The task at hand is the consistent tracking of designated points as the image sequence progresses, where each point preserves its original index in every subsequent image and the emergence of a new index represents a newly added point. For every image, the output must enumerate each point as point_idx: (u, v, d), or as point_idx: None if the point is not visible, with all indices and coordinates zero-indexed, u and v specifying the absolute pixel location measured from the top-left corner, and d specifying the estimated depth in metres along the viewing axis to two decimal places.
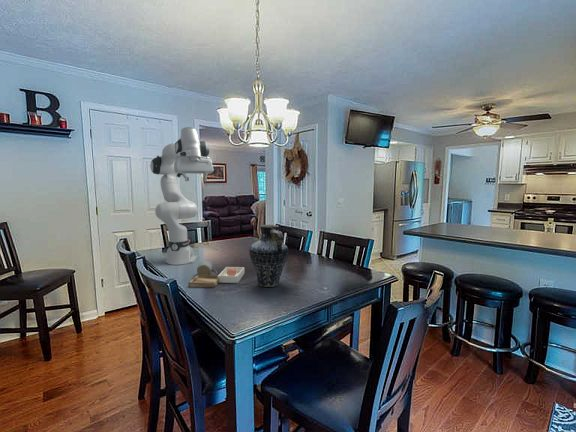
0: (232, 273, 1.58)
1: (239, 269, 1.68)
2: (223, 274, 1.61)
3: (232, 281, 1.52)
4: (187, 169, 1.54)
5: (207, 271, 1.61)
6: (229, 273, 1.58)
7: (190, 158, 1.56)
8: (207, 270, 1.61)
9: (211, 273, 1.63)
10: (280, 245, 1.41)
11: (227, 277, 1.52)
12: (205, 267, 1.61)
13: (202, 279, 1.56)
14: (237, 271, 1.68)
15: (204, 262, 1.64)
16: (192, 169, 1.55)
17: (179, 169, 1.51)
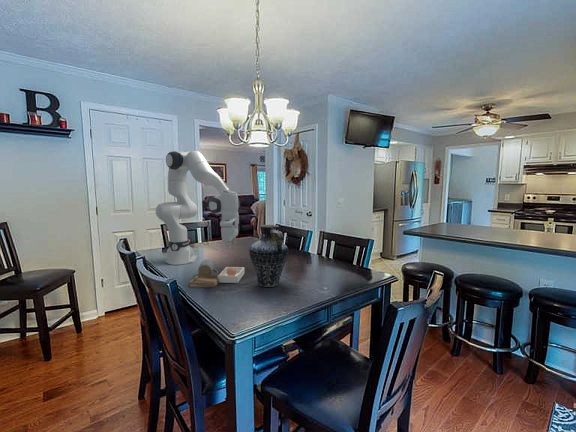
0: (232, 273, 1.58)
1: (239, 269, 1.68)
2: (223, 274, 1.61)
3: (232, 281, 1.52)
4: (231, 238, 1.54)
5: (208, 271, 1.61)
6: (229, 273, 1.58)
7: (233, 226, 1.55)
8: (208, 270, 1.61)
9: (212, 273, 1.63)
10: (280, 245, 1.41)
11: (227, 277, 1.52)
12: (206, 267, 1.61)
13: (202, 279, 1.56)
14: (237, 271, 1.68)
15: (205, 262, 1.64)
16: (233, 237, 1.56)
17: (229, 239, 1.50)
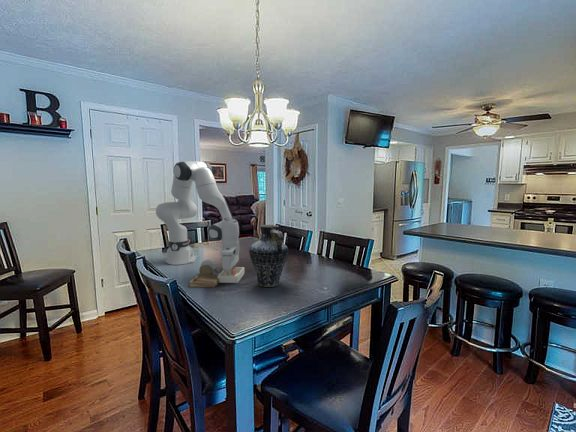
0: (232, 273, 1.58)
1: (239, 269, 1.68)
2: (223, 274, 1.61)
3: (232, 281, 1.52)
4: (232, 265, 1.56)
5: (209, 271, 1.62)
6: None
7: (234, 253, 1.57)
8: (209, 270, 1.61)
9: (213, 273, 1.63)
10: (280, 245, 1.41)
11: (227, 277, 1.52)
12: (207, 267, 1.61)
13: (202, 279, 1.56)
14: (237, 271, 1.68)
15: (206, 262, 1.65)
16: (233, 264, 1.58)
17: (230, 268, 1.52)
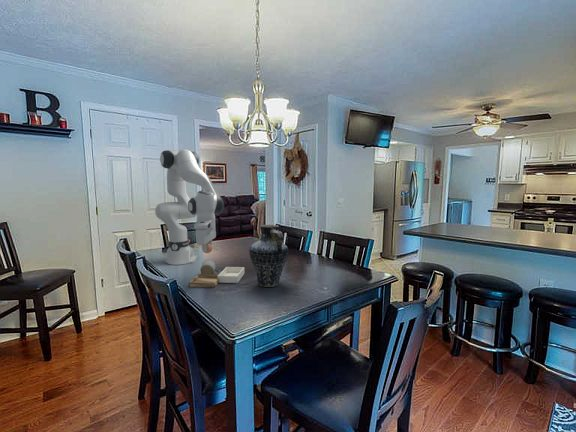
0: (207, 249, 1.49)
1: (239, 269, 1.68)
2: (223, 274, 1.61)
3: (232, 281, 1.52)
4: (207, 240, 1.47)
5: (210, 271, 1.62)
6: None
7: (209, 228, 1.48)
8: (210, 270, 1.62)
9: (214, 273, 1.63)
10: (280, 245, 1.41)
11: (227, 277, 1.52)
12: (208, 267, 1.61)
13: (202, 279, 1.56)
14: (237, 271, 1.68)
15: (207, 262, 1.65)
16: (209, 239, 1.49)
17: (204, 242, 1.43)
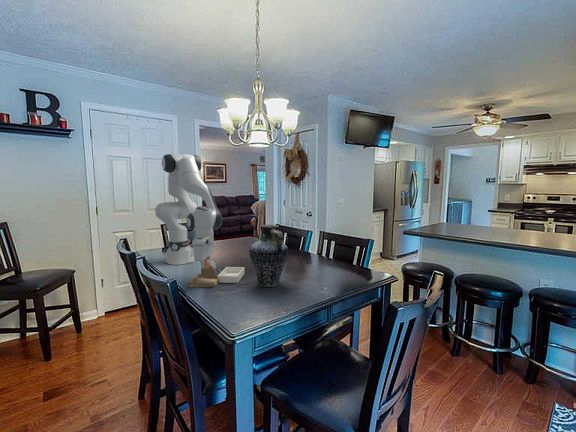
0: (206, 265, 1.49)
1: (239, 269, 1.68)
2: (223, 274, 1.61)
3: (232, 281, 1.52)
4: (205, 256, 1.47)
5: (211, 271, 1.62)
6: None
7: (207, 244, 1.48)
8: (211, 270, 1.62)
9: (215, 273, 1.63)
10: (280, 245, 1.41)
11: (227, 277, 1.52)
12: (209, 267, 1.61)
13: (202, 279, 1.56)
14: (237, 271, 1.68)
15: None
16: (207, 255, 1.49)
17: (202, 259, 1.42)
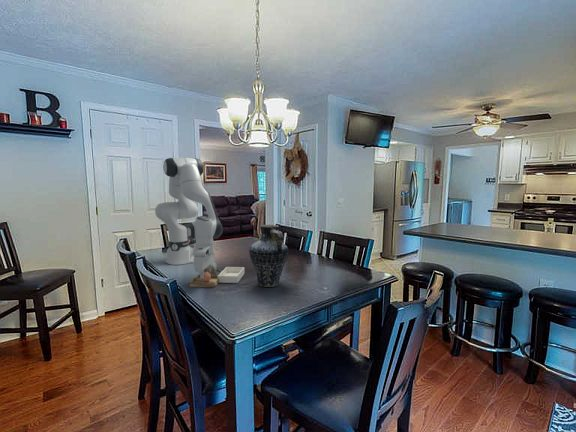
0: (206, 278, 1.50)
1: (239, 269, 1.68)
2: (223, 274, 1.61)
3: (232, 281, 1.52)
4: (205, 266, 1.47)
5: (212, 271, 1.62)
6: (203, 278, 1.50)
7: (208, 254, 1.49)
8: (212, 270, 1.62)
9: (216, 273, 1.63)
10: (280, 245, 1.41)
11: (227, 277, 1.52)
12: None
13: None
14: (237, 271, 1.68)
15: None
16: (207, 265, 1.50)
17: (203, 269, 1.43)
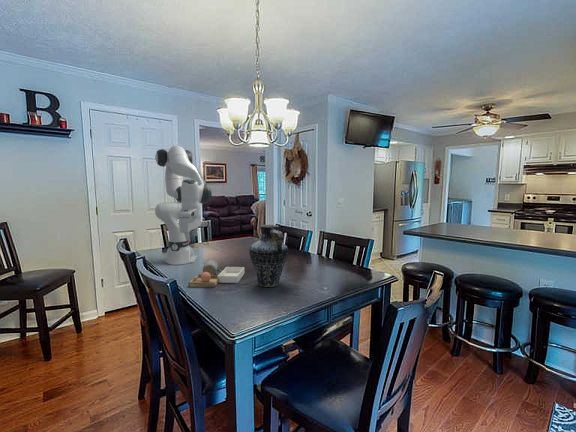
0: (206, 278, 1.50)
1: (239, 269, 1.68)
2: (223, 274, 1.61)
3: (232, 281, 1.52)
4: (191, 229, 1.50)
5: (213, 271, 1.62)
6: (203, 278, 1.50)
7: (193, 216, 1.51)
8: (213, 270, 1.62)
9: (217, 273, 1.63)
10: (280, 245, 1.41)
11: (227, 277, 1.52)
12: (211, 267, 1.61)
13: None
14: (237, 271, 1.68)
15: (210, 262, 1.65)
16: (193, 227, 1.53)
17: (188, 230, 1.46)
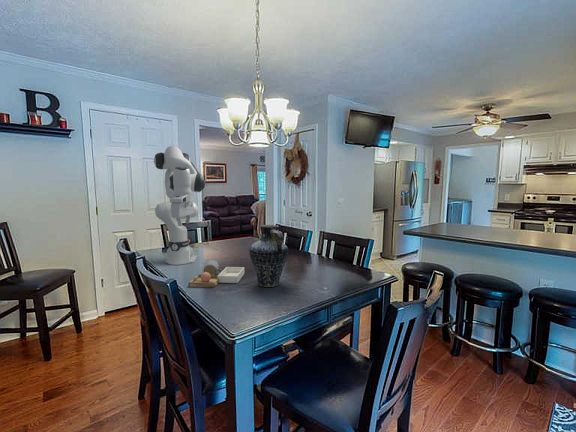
0: (206, 278, 1.50)
1: (239, 269, 1.68)
2: (223, 274, 1.61)
3: (232, 281, 1.52)
4: (183, 215, 1.51)
5: (214, 271, 1.62)
6: (203, 278, 1.50)
7: (185, 203, 1.53)
8: (214, 270, 1.62)
9: (218, 273, 1.63)
10: (280, 245, 1.41)
11: (227, 277, 1.52)
12: (212, 267, 1.61)
13: None
14: (237, 271, 1.68)
15: (211, 262, 1.65)
16: (185, 214, 1.54)
17: (180, 216, 1.47)
